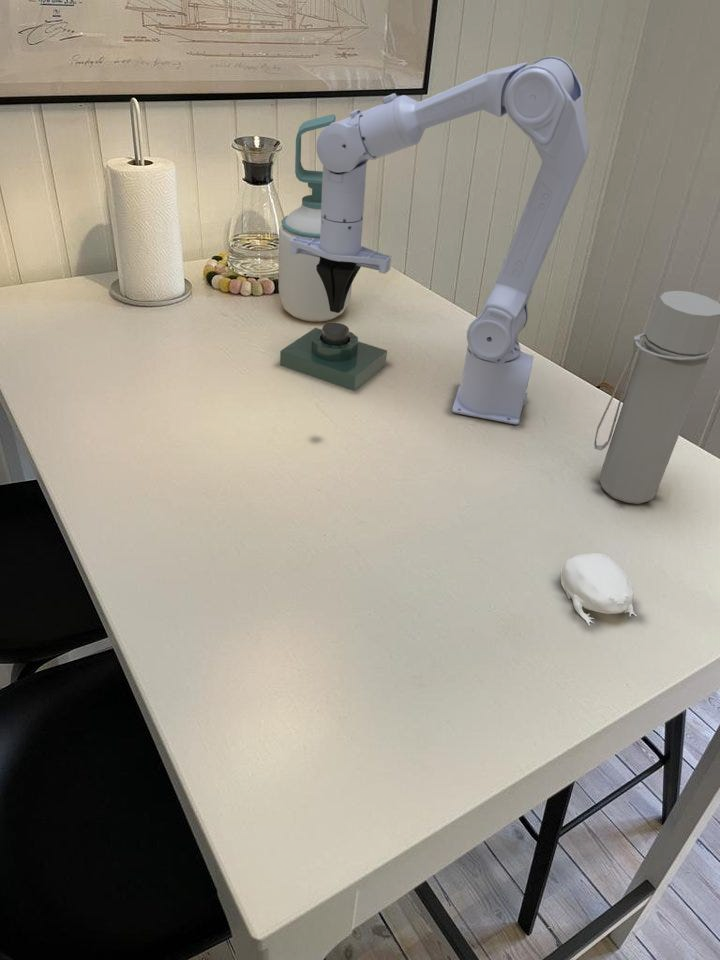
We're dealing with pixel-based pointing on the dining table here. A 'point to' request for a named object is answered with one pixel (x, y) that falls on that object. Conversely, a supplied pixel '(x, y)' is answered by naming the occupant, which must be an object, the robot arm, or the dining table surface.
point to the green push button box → (334, 359)
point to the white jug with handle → (299, 271)
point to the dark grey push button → (335, 334)
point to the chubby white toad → (597, 585)
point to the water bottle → (658, 394)
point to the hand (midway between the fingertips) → (336, 309)
